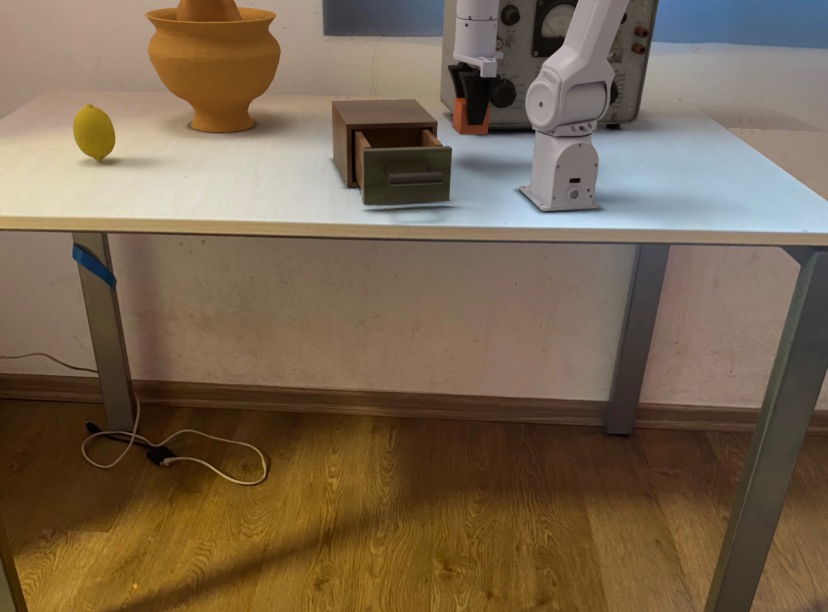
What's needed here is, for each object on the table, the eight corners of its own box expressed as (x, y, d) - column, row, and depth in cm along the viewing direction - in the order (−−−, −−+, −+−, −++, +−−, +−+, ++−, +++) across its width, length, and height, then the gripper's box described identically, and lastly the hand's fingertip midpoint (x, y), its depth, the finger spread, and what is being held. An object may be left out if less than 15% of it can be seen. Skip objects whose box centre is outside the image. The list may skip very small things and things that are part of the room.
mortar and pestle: (298, 135, 131) (287, -79, 114) (167, 144, 124) (135, -82, 107) (269, 107, 147) (256, -84, 130) (151, 114, 140) (122, -87, 124)
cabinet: (435, 183, 111) (437, 121, 106) (347, 187, 109) (346, 124, 104) (413, 156, 122) (414, 99, 118) (333, 159, 120) (331, 100, 115)
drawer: (459, 213, 98) (463, 159, 95) (370, 218, 96) (370, 162, 92) (426, 171, 113) (428, 123, 109) (348, 175, 111) (347, 125, 107)
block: (487, 133, 116) (489, 103, 113) (460, 134, 115) (461, 104, 113) (479, 126, 119) (481, 97, 117) (452, 127, 118) (454, 98, 116)
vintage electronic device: (463, 138, 132) (473, -34, 118) (439, 112, 147) (446, -43, 133) (640, 134, 138) (670, -31, 124) (600, 109, 152) (622, -40, 139)
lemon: (78, 167, 113) (66, 109, 108) (81, 157, 117) (69, 100, 113) (119, 166, 114) (108, 107, 110) (120, 155, 118) (110, 99, 114)
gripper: (522, 25, 104) (512, 132, 111) (489, 11, 115) (482, 108, 123) (470, 25, 102) (464, 133, 110) (442, 11, 114) (438, 110, 122)
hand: (470, 120), depth 116 cm, fingers closed on block, 4 cm apart
